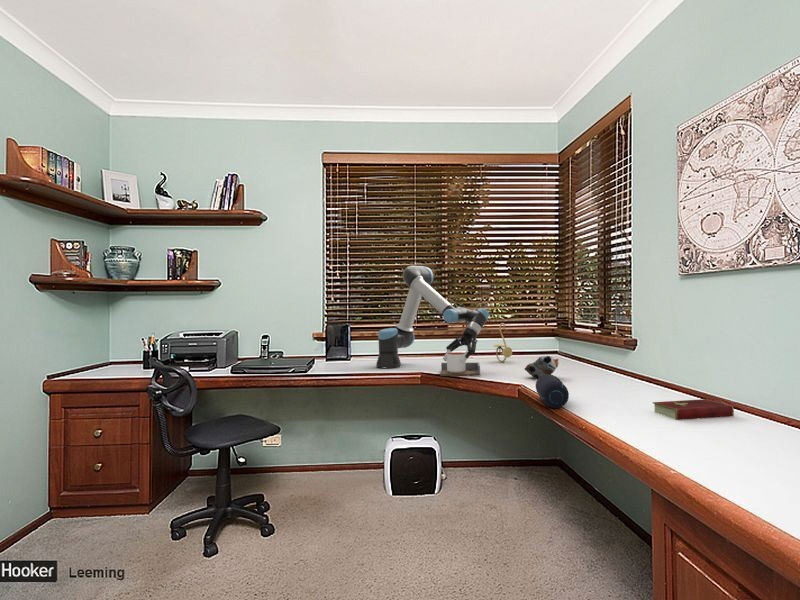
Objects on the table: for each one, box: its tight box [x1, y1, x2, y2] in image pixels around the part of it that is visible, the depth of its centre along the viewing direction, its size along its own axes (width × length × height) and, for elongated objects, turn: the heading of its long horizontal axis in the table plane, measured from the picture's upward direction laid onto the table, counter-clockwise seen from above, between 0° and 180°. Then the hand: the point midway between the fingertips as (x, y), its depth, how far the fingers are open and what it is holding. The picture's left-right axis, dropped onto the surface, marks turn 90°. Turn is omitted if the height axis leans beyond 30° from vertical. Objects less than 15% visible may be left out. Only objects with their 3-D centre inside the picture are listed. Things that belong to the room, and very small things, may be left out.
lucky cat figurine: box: [524, 355, 559, 380], centre depth 256 cm, size 15×12×14 cm
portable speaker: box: [535, 374, 570, 409], centre depth 195 cm, size 25×10×10 cm, turn 171°
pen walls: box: [440, 362, 481, 375], centre depth 275 cm, size 15×21×4 cm
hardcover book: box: [652, 398, 735, 421], centre depth 172 cm, size 12×21×4 cm, turn 98°
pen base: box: [439, 370, 481, 377], centre depth 275 cm, size 15×21×1 cm
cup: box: [446, 352, 466, 373], centre depth 274 cm, size 10×10×10 cm
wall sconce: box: [492, 322, 513, 363], centre depth 321 cm, size 14×10×25 cm
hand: (453, 361), depth 272 cm, fingers open, 13 cm apart
